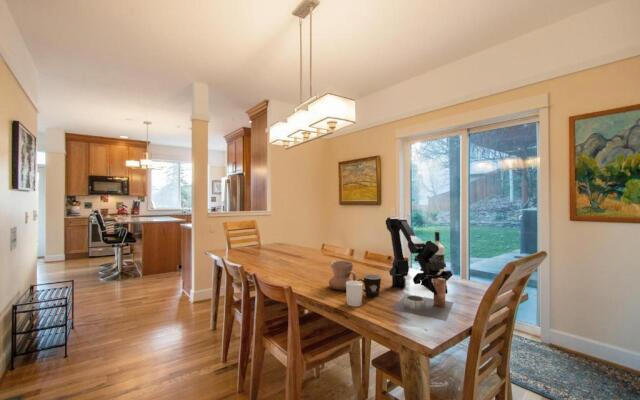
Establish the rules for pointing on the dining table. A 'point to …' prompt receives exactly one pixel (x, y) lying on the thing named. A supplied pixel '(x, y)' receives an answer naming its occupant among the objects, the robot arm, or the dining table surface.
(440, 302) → the terracotta plug
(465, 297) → the dining table surface
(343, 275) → the ceramic jug
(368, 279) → the coffee mug
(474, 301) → the dining table surface
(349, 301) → the white cup
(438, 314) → the charcoal mat
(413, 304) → the stone sleeve
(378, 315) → the dining table surface
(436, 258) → the vodka
